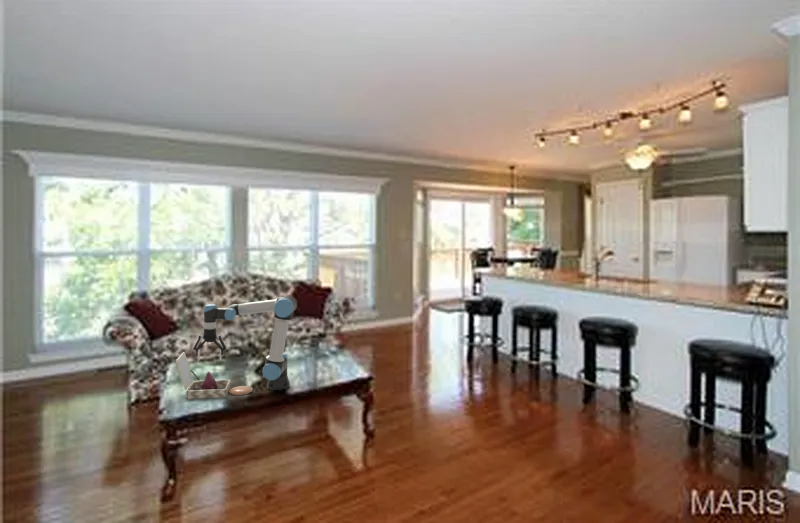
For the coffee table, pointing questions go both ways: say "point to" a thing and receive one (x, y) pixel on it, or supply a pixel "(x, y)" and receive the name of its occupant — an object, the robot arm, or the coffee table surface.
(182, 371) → the lid
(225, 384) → the cold frame
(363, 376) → the coffee table surface
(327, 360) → the coffee table surface
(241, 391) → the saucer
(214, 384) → the dark red pyramid
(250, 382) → the coffee table surface
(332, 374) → the coffee table surface
